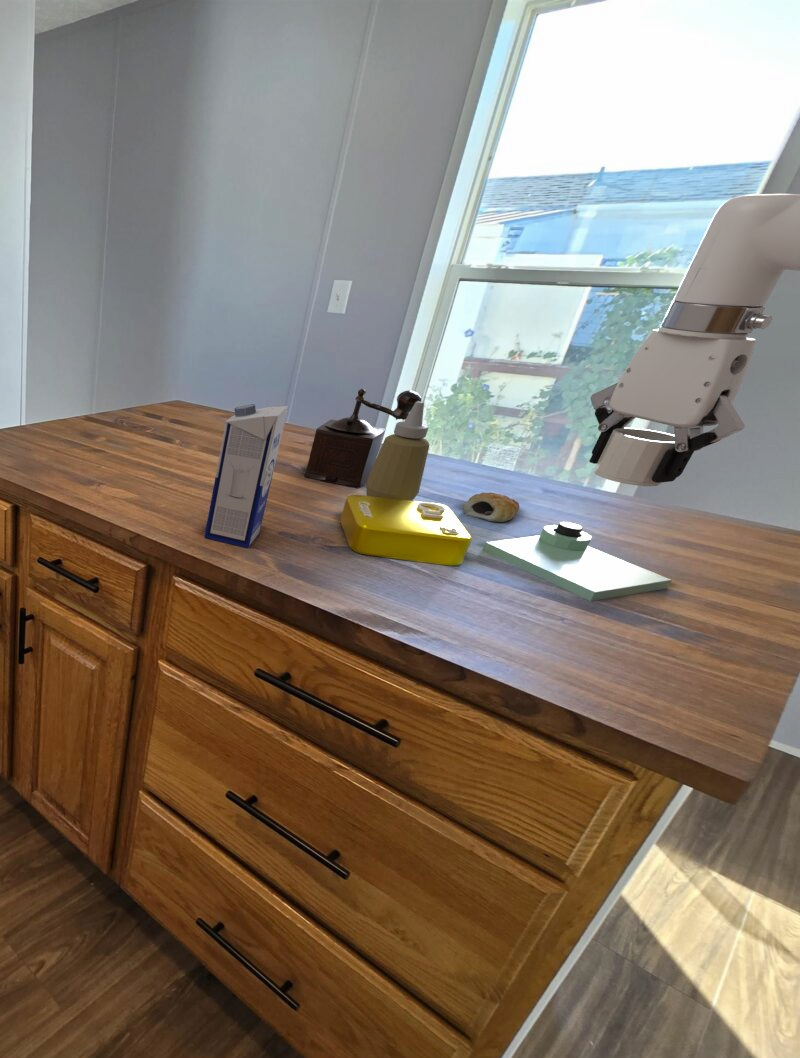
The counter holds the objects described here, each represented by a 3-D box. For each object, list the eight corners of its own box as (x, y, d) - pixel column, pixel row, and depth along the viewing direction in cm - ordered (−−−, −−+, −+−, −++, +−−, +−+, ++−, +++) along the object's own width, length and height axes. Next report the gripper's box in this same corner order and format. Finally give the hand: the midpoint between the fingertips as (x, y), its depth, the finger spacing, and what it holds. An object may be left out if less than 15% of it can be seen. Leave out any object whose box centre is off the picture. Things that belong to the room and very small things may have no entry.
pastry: (485, 503, 116) (494, 482, 114) (527, 516, 111) (537, 495, 109) (457, 513, 112) (465, 491, 110) (499, 527, 107) (509, 505, 105)
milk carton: (248, 548, 98) (278, 414, 88) (203, 538, 101) (227, 407, 91) (259, 532, 103) (289, 404, 93) (217, 523, 106) (241, 397, 96)
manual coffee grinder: (301, 477, 127) (325, 381, 118) (317, 464, 134) (341, 372, 125) (389, 496, 118) (422, 394, 109) (401, 480, 126) (433, 384, 117)
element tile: (338, 517, 109) (345, 489, 107) (438, 529, 105) (449, 501, 103) (350, 553, 97) (359, 523, 94) (465, 569, 93) (478, 538, 91)
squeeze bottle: (407, 520, 108) (445, 411, 99) (354, 508, 113) (387, 402, 104) (415, 506, 114) (452, 401, 105) (365, 495, 118) (396, 394, 109)
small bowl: (674, 484, 82) (698, 440, 79) (636, 488, 80) (659, 444, 78) (618, 467, 88) (638, 426, 85) (580, 471, 86) (600, 429, 83)
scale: (668, 588, 89) (680, 569, 87) (590, 601, 85) (601, 581, 84) (553, 540, 102) (562, 523, 101) (481, 550, 99) (489, 532, 97)
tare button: (582, 537, 97) (587, 528, 96) (568, 539, 96) (573, 530, 95) (564, 530, 99) (568, 520, 98) (550, 532, 98) (554, 522, 98)
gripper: (829, 331, 68) (731, 492, 77) (647, 311, 83) (582, 449, 92) (782, 332, 67) (687, 498, 75) (604, 312, 81) (542, 453, 90)
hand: (630, 470), depth 84 cm, fingers closed on small bowl, 6 cm apart
